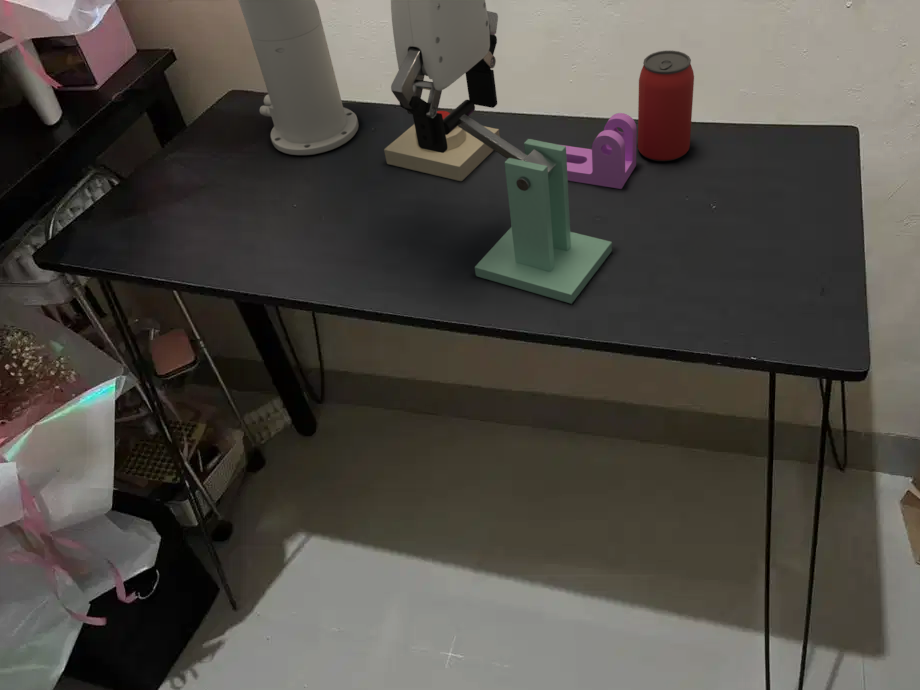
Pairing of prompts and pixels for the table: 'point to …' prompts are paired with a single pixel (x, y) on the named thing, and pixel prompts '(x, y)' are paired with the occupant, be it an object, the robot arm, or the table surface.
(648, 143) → the beer can
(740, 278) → the table surface
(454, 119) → the lever
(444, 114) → the button
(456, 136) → the control block
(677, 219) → the table surface
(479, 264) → the bracket
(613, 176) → the bracket
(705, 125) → the table surface
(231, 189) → the table surface
